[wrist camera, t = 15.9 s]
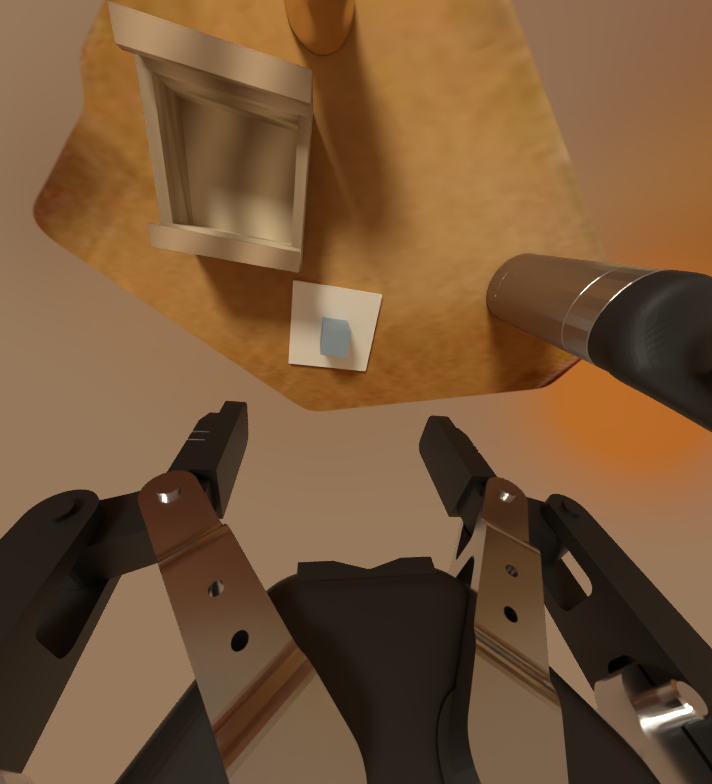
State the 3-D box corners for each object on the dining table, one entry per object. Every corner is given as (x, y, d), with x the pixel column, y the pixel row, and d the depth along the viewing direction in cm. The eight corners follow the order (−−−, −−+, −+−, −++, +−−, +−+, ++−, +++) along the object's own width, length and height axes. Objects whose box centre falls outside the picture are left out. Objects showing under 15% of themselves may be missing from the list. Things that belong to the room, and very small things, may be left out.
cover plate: (380, 293, 37) (391, 304, 32) (364, 367, 43) (371, 387, 38) (293, 279, 35) (290, 287, 30) (289, 360, 41) (285, 379, 36)
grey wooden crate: (313, 112, 27) (312, 69, 19) (302, 263, 34) (298, 272, 26) (169, 68, 24) (107, 0, 17) (189, 242, 31) (151, 246, 24)
